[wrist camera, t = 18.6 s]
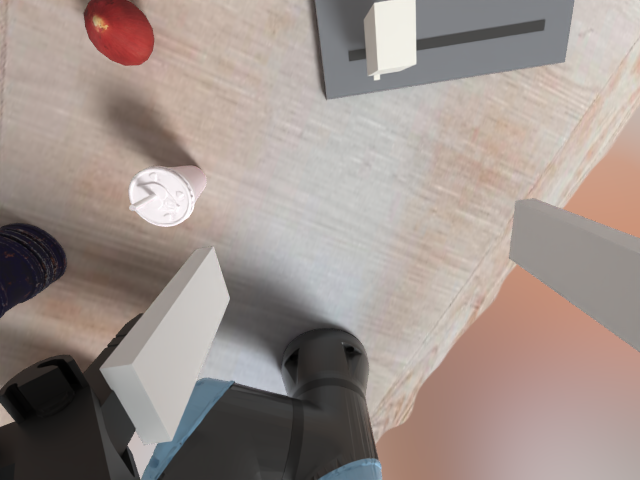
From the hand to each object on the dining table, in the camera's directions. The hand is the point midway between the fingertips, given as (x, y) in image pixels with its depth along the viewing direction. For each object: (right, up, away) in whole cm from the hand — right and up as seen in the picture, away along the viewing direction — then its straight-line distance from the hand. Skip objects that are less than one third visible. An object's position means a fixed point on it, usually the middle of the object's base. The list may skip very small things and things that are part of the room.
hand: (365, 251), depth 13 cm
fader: (+4, +22, +20) cm, 30 cm away
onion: (-22, +23, +21) cm, 38 cm away
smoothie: (-19, +9, +27) cm, 34 cm away
